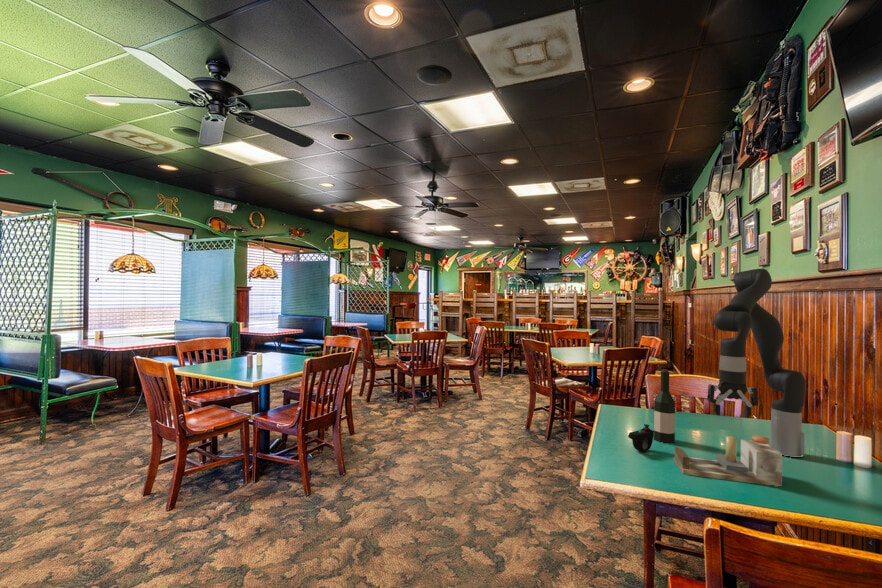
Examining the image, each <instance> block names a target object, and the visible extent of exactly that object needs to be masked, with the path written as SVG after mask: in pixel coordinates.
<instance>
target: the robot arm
mask: <svg viewBox="0 0 882 588" xmlns="http://www.w3.org/2000/svg"><path fill="white" fill-rule="evenodd" d="M772 283H773V281H772V277H771V274H770V272H769V270H768V269H766V268H755V269H750V270H749V269H748V270H743V271H742V270H741V271H738V272H736V273H734V275H733V284H734V288H735V291H736V294H735V295H733V297H732V298H731V299H730V300H729V303H728V304H727V305H725V306H724V307H722V308H721V309H719V311H717V313H716V314H715V315H714V318H713V324H714V326H715V328H716V329H717V330H718V331H720V332H731V333H732V332H734V333H737V334H736V336H734V337H727V338H722V339H721V340H720V343H719V348H720V349H719V352H720V354H719V356H720V357H719V362H718V364H719V365H718V366H719V367H718V381H719V382H718V385H715V384H712V383H708V387H707V396H706V397H707V401H708V402H710V403H711V404H713V412H714V414H715V415H716V416H717V417H718V416H721V405H720V404H721V403H722V402H723V401H725V399H728V400H733V399H734V400H740V401H742V403H743V404H744V406H743V408H744V409H743V411H744V412H743V416H744V417H745V418H746V419H750V417H752V408H753V407H757V406H759V393H758V388H756V387H754V386H750V387H747V361H746V346H747V345H746V344H747V340H748V335H749V334H750V330H751V332H752V336H753V339H754V341H755V344H756V347H757V350H758V352H759V356H760V360H761V364H762V369H763V374H764V379H765V382H766V385H767V386H768V387H769V389H771V390H773V391H776V392H781V393H783V395H782V398H780V399H774V400H772V401H771V403H770V404H771V405H770V409H771V410H770V446H771V447H773V448H774V449H775V450H777V451H778V452H780V453H781V454H782V455H789V456H801V455H803V456H804V457H805V432H804V431H802V430H803V426H802V424H803V422H802V421H803V419H802V418H803V416H802V415H803V414H802V413H803V407H804V405H805V398H806V396H805V395H806V385H807V384H806V378H805V376H804V375H803V373H801V372H800V371H797V370H793V369H787V368H783V367H782V365H781V362H780V357H779V354H780V351H781V349H782V346H783V345H784V340H785V335H784V332H783V329H782V325H781V323H780V321H779V320H778V318H776V317H775V316H774V315H773V314H771V313H770V312H769V311H768V310H766V309H765V308H764V307H762V306H761V305H760V304H759V303H758V302H759V301H760V300H761V298H763V297H764V296H765V295H766V294H767V293H768V292H770V291H769V290H770V289H771V287H772ZM717 390H718V391H719V393H718V394H717V395H716V397H715V392H717ZM746 393H749V394H750V396H749V397H750V401H749V399H748V398H747V396H746V395H745V394H746Z"/></svg>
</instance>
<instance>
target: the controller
mask: <svg viewBox="0 0 882 588" xmlns="http://www.w3.org/2000/svg"><path fill="white" fill-rule="evenodd" d="M627 438H628V439H630V440H632V445H633V448H634V449H635V450H637V451H638V452H641V453H646V452H648V451H649V450H650V449H651V447H652V445H653V440H654V429H651V428H650V424H646V423H645V424H644V423H643V427H642V428H640V429H638V430H635V431H631V432H629V433H628V435H627Z"/></svg>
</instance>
